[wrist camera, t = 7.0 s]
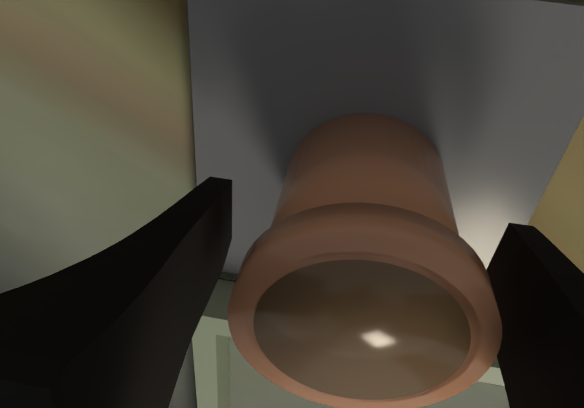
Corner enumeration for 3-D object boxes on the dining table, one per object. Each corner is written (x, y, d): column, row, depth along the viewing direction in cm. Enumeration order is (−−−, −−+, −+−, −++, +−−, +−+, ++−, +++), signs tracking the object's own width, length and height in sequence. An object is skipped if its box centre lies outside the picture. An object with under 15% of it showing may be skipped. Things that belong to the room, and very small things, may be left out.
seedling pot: (272, 240, 17) (230, 391, 12) (278, 89, 13) (222, 216, 8) (432, 262, 16) (457, 430, 11) (483, 112, 13) (550, 261, 8)
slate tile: (204, 259, 18) (201, 268, 18) (191, -45, 12) (185, -42, 11) (478, 305, 18) (480, 315, 17) (626, 7, 11) (636, 12, 11)
